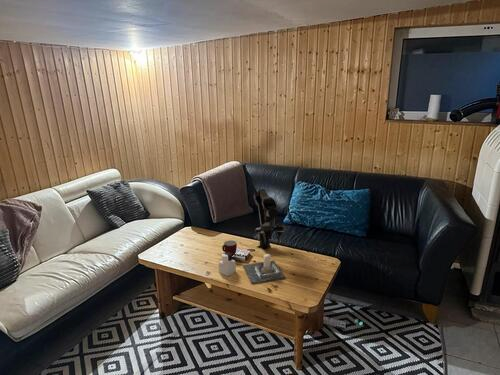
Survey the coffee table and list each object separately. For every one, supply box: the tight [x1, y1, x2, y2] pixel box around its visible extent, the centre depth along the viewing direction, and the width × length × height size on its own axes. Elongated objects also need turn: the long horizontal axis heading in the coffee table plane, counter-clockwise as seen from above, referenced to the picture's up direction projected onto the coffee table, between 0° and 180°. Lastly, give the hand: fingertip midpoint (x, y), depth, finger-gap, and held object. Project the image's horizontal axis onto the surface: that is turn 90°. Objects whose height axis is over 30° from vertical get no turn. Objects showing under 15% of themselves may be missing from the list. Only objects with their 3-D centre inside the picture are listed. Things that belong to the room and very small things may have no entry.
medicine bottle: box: [218, 252, 237, 277], centre depth 191 cm, size 7×7×12 cm
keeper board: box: [242, 260, 287, 285], centre depth 191 cm, size 20×20×2 cm
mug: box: [221, 239, 238, 256], centre depth 209 cm, size 10×8×10 cm
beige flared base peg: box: [261, 253, 273, 274], centre depth 190 cm, size 7×7×10 cm
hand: (271, 243), depth 202 cm, fingers open, 9 cm apart
